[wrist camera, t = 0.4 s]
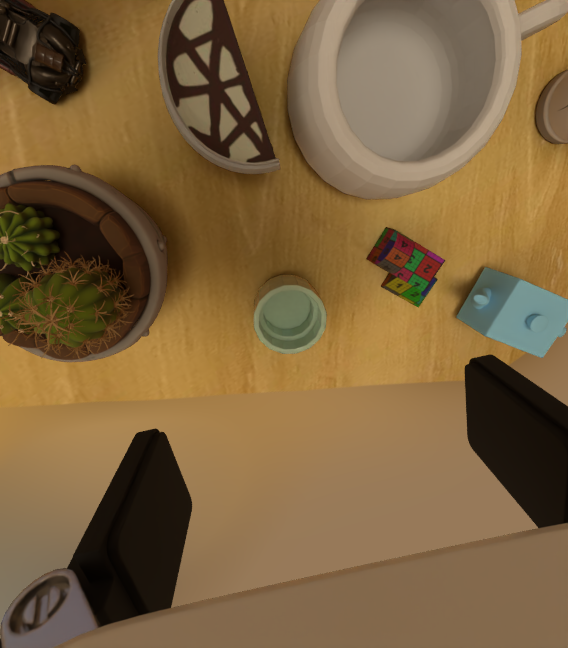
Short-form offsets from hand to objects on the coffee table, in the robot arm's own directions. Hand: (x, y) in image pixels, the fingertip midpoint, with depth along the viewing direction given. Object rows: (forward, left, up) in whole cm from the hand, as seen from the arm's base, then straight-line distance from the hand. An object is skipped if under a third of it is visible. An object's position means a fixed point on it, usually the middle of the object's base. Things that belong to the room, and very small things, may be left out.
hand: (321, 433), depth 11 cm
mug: (-10, +16, -29) cm, 34 cm away
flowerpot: (-7, -15, -29) cm, 33 cm away
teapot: (+13, +20, -29) cm, 37 cm away
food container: (-14, 0, -29) cm, 32 cm away
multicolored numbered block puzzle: (+6, +12, -29) cm, 32 cm away
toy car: (-25, -13, -29) cm, 40 cm away
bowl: (+5, -1, -28) cm, 29 cm away
